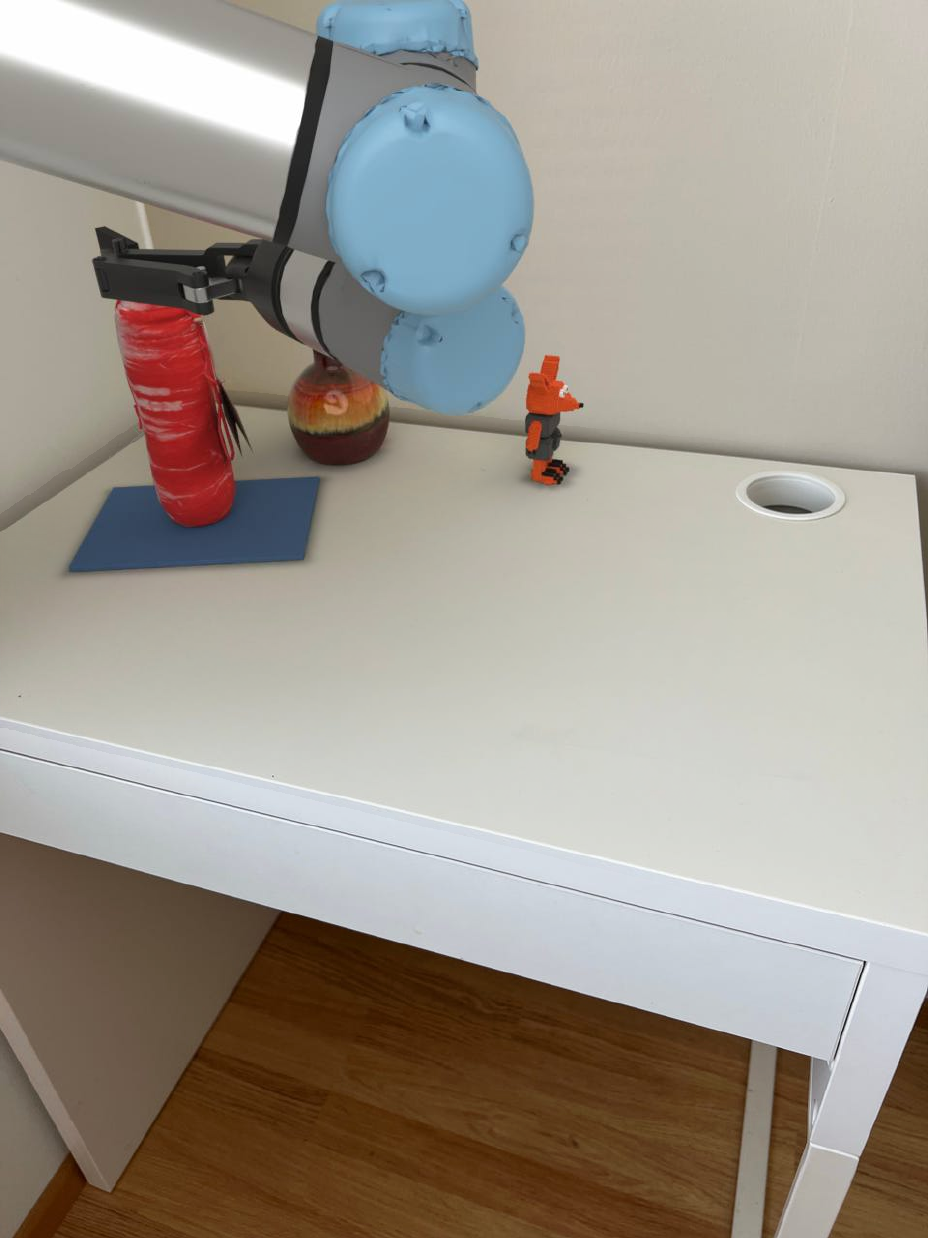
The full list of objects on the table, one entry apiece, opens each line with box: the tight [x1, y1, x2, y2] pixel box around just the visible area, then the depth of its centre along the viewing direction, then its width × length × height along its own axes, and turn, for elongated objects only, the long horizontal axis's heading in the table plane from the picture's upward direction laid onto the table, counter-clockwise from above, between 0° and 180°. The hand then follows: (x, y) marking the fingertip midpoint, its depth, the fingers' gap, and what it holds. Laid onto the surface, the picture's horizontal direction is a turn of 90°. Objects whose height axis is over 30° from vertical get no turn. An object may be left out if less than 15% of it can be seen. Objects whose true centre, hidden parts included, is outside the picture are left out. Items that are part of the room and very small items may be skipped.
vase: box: [286, 349, 390, 466], centre depth 108 cm, size 11×11×15 cm
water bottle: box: [114, 300, 255, 527], centre depth 93 cm, size 12×8×25 cm, turn 74°
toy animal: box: [524, 354, 584, 486], centre depth 101 cm, size 8×5×12 cm
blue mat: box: [68, 475, 321, 573], centre depth 100 cm, size 22×16×1 cm
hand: (190, 227), depth 77 cm, fingers open, 13 cm apart
